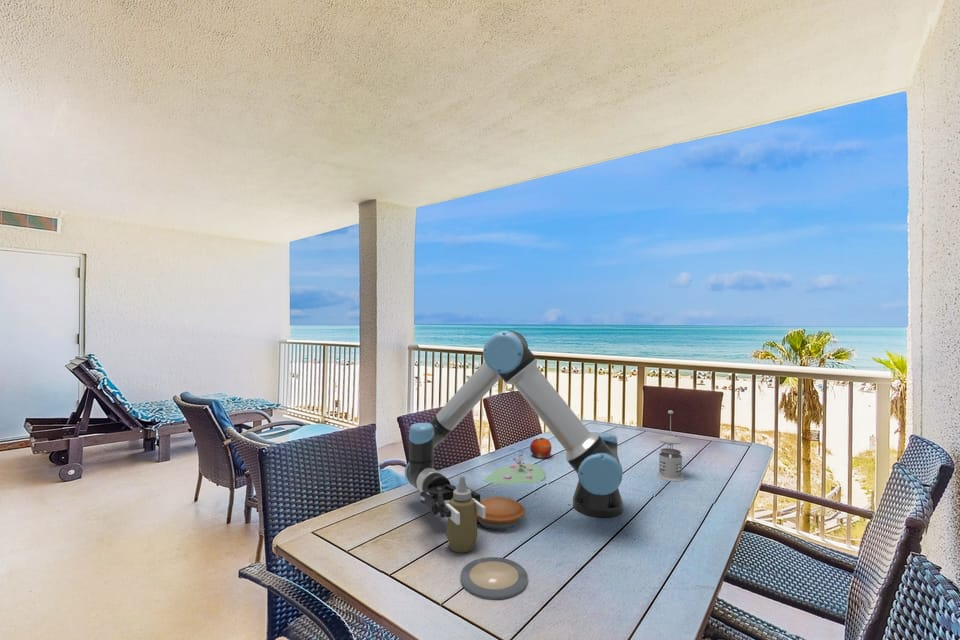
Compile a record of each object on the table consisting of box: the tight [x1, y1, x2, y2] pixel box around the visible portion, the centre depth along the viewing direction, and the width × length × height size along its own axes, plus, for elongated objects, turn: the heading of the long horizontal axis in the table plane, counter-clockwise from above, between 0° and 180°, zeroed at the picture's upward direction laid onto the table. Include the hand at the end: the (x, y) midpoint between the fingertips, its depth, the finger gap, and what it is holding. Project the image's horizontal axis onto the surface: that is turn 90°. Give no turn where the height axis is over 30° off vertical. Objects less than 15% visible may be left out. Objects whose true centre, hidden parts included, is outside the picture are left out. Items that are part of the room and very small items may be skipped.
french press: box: [656, 409, 686, 482], centre depth 166 cm, size 10×12×25 cm
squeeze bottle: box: [445, 475, 478, 554], centre depth 112 cm, size 8×8×18 cm
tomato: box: [529, 437, 553, 459], centre depth 190 cm, size 9×9×8 cm
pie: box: [476, 496, 526, 531], centre depth 128 cm, size 15×16×5 cm
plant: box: [483, 450, 547, 486], centre depth 166 cm, size 25×21×9 cm
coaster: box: [460, 556, 529, 601], centre depth 99 cm, size 15×15×1 cm
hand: (471, 515), depth 108 cm, fingers closed on squeeze bottle, 6 cm apart
